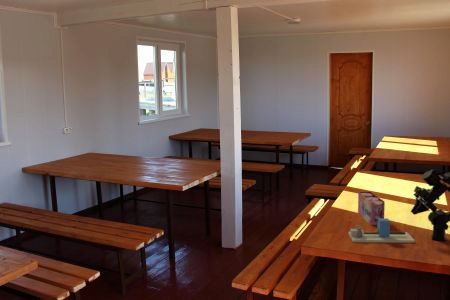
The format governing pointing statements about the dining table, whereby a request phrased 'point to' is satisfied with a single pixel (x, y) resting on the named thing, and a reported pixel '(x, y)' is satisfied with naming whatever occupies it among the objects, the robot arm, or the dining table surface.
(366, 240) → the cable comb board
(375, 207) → the gum box
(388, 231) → the blue block
